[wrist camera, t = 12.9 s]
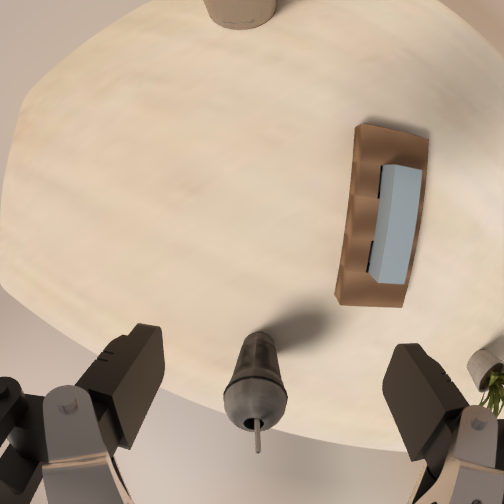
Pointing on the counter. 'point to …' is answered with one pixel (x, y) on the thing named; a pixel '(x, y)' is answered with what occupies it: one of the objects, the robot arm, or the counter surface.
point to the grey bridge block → (395, 223)
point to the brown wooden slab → (375, 213)
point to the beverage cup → (256, 387)
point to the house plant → (488, 378)
